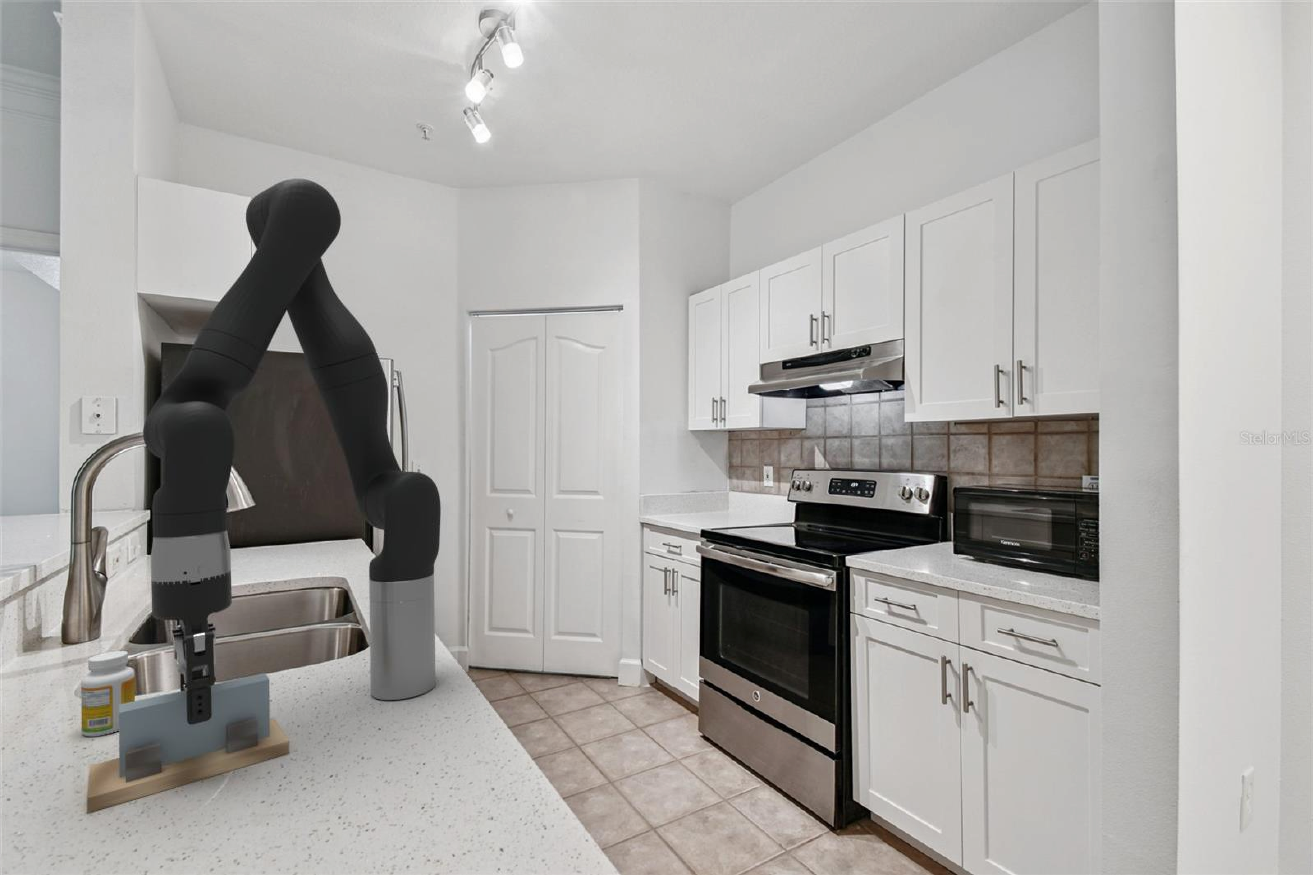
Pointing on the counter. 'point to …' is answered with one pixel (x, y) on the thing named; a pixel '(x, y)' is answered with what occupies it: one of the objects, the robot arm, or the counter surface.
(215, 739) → the blue grey rectangular block
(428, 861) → the counter surface
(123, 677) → the supplement bottle
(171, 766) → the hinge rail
